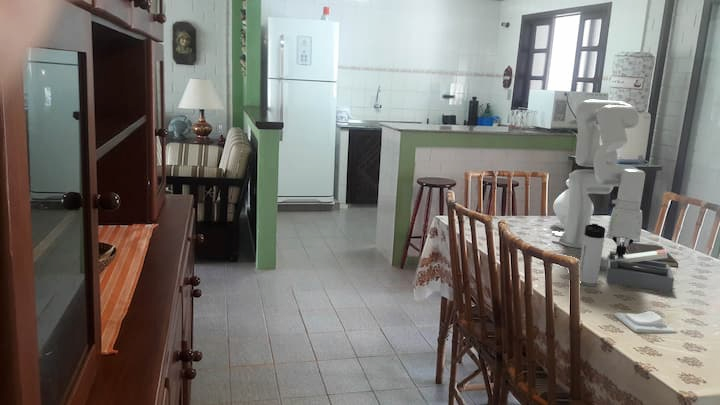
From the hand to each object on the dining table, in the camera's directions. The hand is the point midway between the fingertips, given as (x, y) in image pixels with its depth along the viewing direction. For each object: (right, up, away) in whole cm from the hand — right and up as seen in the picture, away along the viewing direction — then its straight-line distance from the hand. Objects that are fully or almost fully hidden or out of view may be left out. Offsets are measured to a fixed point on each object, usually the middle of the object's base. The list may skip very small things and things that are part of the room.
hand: (620, 256), depth 200 cm
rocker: (+6, 0, -2) cm, 7 cm away
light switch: (-10, -17, -38) cm, 42 cm away
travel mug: (-14, -9, -6) cm, 18 cm away
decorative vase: (+8, +7, +69) cm, 70 cm away
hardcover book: (+25, -3, +30) cm, 39 cm away
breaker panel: (+6, -8, -1) cm, 10 cm away
